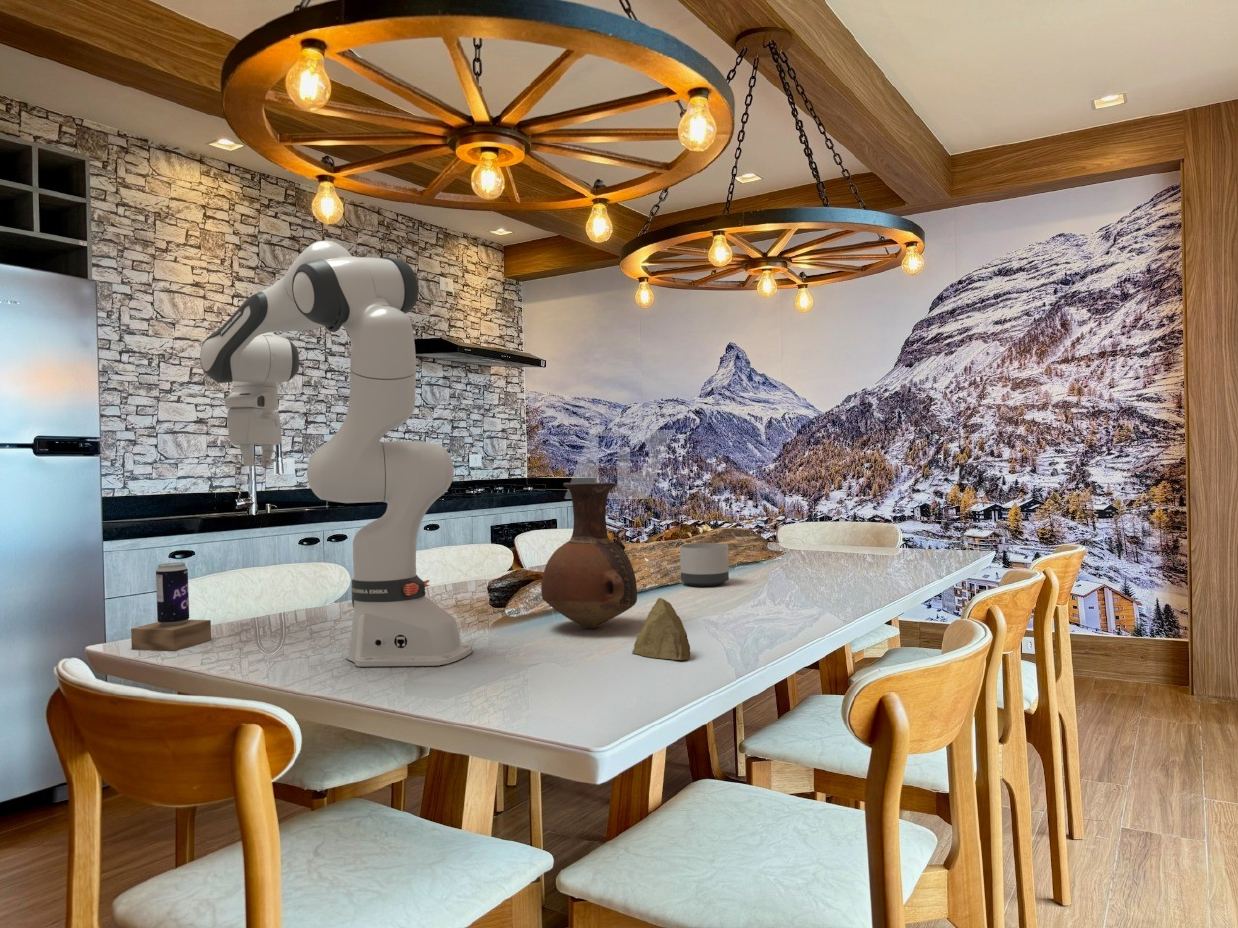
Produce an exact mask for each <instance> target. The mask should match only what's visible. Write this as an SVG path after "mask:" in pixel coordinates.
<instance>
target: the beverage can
mask: <svg viewBox="0 0 1238 928" xmlns="http://www.w3.org/2000/svg"><path fill="white" fill-rule="evenodd" d="M157 566H158V567H157V569H156V571H155V586H156V587H155V588H156V613H157V614H156V615H157V617H156V618H157V619H156V621H157V622H159V623H161V624H162V625H163V626H174V625H180V624H184V623H185V622H186V621H187V620H190V597H189V594H190V593H189V570H188V567H187V565H186V562H178V561H177V562H166V563H160V564H158V565H157Z"/></svg>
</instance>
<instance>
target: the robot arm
mask: <svg viewBox="0 0 1238 928" xmlns="http://www.w3.org/2000/svg"><path fill="white" fill-rule="evenodd" d="M419 291H420V290H419V282H418V277H417V275H416V274H415V271H414V270H413V268H412V267H411V266H410V265H409V263H408V262H407V261H404V260H401V259H398V258H394V257H389V256H383V257H379V258H378V257H370V256H369V257H367V256H366V257H365V256H361V257H360V256H359V257H358V256H354V255H353V256H352V254H351V253H350V252H349V251H348V250H347V249H346V248H345V247H344V246H342V245H341V244H339V243H337V242H335V241H331V240H318V241H315V242H313V243H311V244H310V245H309V246H307V247H306V248H305V249H304V250H303V251H301V253H300V254H299V255H298V256H297V257H296V259H295V260H294V261H293V262H292V264H291V265H289V268H288V270H286V273H285V274H284V275H283V276H282V277H280V279H278V281H276V282H275V283H274V284H272V285H270V286H268V287H266V288H265V289H264V290H261V291H258V292H257V293H254V294H253V295H251V296H249V297H248V298H247V299H246V300H245V301H244V302H243V303H242V304H241V305H240V306H238V308H237V309H236V311H234V313H233V314H232V315H231V316H230V317H229V318H228V319H227V320H226V321H225V323H223V325H222V326H221V327H219V328H218V330H215V331H214V332H212V333H211V334H209V335H208V336H207V337H206V338H205V340H204V341H203V342H202V345H201V348H200V352H199V353H200V354H199V360H200V361H199V362H200V367H201V369H202V371H203V372H204V373H205V375H207V376H208V377H209V378H210V379H212V380H213V381H214V382H215V383H217V384H223V383H224V384H225V383H232V384H233V385H232V391H233V392H231V393H230V395H228V396H226V397H225V398H224V406H225V408H226V409H228V410H227V431H228V438H229V441H230V443H231V444H232V445H239V450H240V453H241V457H242V460H243V461H242V462H243V463H242V464H243V467H254V466H255V465H256V463H255V462H256V460H255V457H254V455H253V450H254V446H255V445H259V446H261V451H262V453H261V454H262V455H261V457H260V465H261V466H262V467H269V466H271V465H272V458H273V457H272V456H273V453H274V446H276V445H278V446H279V445H281V442H282V426H281V418H280V414H279V412H277V411H276V410H278V409H279V397H278V395H279V390H278V388H279V387H278V384H280V383H281V384H282V383H286V382H289V381H291V380H292V379H293V378H294V377H295V376H296V375H297V374H298V372H299V370H300V354H299V350H298V348H297V347H296V345H295V344H294V343H293V341H291V340H290V339H288V338H285V337H282V336H280V335H277V334H275V333H276V332H294V331H295V332H298V331H300V332H301V331H311V330H316V329H318V328H320V327H322V326H323V327H324V328H325V329H326V330H327V331H328V332H331V333H336V332H338V331H339V330H340V329H341V328H342V327H343V328H344V330H345V331H346V332H347V334H348V336H349V340H350V363H349V364H350V365H349V366H350V367H349V368H350V369H349V371H350V376H349V377H350V380H349V381H350V382H349V398H348V406H347V407H348V408H347V412H346V416H345V418H344V420H343V422H342V424H341V425H340V426H339V429H337V431H336V433H334V435H333V436H332V437H331V438H330V439H328V440H327V441H326V442H325V443H323V444H322V445H320V446H319V447H318V448H317V449H316V450H315V451H314V452H313V453H312V454H311V456H310V458H309V460H308V463H307V467H306V477H307V478H306V479H307V483H308V485H309V487H310V489H311V491H312V493H313V494H314V495H315V496H316V497H317V498H319V500H321V501H322V500H323V501H329V502H333V503H343V504H356V503H357V504H358V503H360V504H361V503H376V502H379V503H380V502H383V503H386V504H387V506H386V510H385V512H384V514H383V515H382V516H381V517H378V518H377V519H375V520H373V521H371V522H369V523H367V524H366V525H365V526H363V527H361V528H360V529H359V530H358V531H357V532H356V534H355V535H354V537H353V539H352V560H353V562H352V563H353V578H352V579H351V602H352V607H353V617H352V618H353V619H352V627H351V635H350V636H351V637H350V641H349V647H348V650H347V654H346V659H347V660H348V661H351V662H353V663H354V665H355V666H356V667H424V666H425V667H430V666H433V667H435V666H441V665H443V666H444V665H447V664H451V663H453V662H457V661H460V660H461V659H463V658H465V657H467V656H469V655H470V654H471V653H472V652H473V649H474V648H473V644H472V643H468V642H461V637H460V636H461V635H460V629H459V627H458V626H459V625H458V623H457V620H456V619H455V618H454V616H452V614H450V613H448V612H447V611H446V610H445V609H444V608H442V607H441V606H439V605H438V604H437V603H435V602H434V601H433V600H431V599H430V598H429V597H428V596H426V595H427V593H426V588H427V587H429V586H431V585H430V584H429V582H430V580H429V579H427V580H423V579H422V578H420V576H419V575H417V543H418V541H417V540H418V533H419V529H420V526H421V523H422V520H423V519H424V516H425V515H426V513H427V512H428V510H429V509H430V507H432V505H433V504H434V503H435V501H437V500H438V499H439V498H440V497H442V496H444V494H445V493H446V492H447V491H448V490H449V488H450V487H451V484H452V482H453V478H454V475H455V473H454V471H455V467H454V463H453V460H452V457H451V455H450V453H449V452H448V451H447V449H446V448H445V447H444V446H443V445H442V444H441V445H440V444H436V443H433V442H432V443H431V442H426V441H425V442H424V441H419V440H410V441H409V440H403V441H401V440H400V441H395V440H394V441H381V439H383V437H384V436H385V435H386V434H387V433H389V432H390V431H392V430H394V429H396V428H398V427H400V426H402V425H403V424H405V423H406V422H407V421H408V420H409V419H410V418H411V417H412V415H413V414H414V411H415V409H416V385H417V383H416V379H417V377H416V376H417V369H416V368H417V362H416V360H417V358H416V355H417V354H416V344H415V343H416V342H415V337H414V330H413V325H412V321H411V320H410V319H411V318H409V316H408V315H407V314H408V313H409V312H411V311H412V310H413V309H414V308H415V306H416V304H417V301H418V298H419Z"/></svg>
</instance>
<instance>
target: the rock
mask: <svg viewBox="0 0 1238 928" xmlns="http://www.w3.org/2000/svg"><path fill="white" fill-rule="evenodd" d="M643 622H644V623H643V626H642V627H641V629H640V630H639V632H638V634H637V636H636V639H635V642H634V645H633V649H632V652H631V653H632V655H638V656H641V657H642V656H643V657H645V658H653V659H663V660H672V661H673V660H674V661H688V660H690V659H691V645H690V643H689V638H688V634H687V631H686V630H685V629H686V628H685V627H684V624H683V621H682V618H681V617H680V616H679V615H678V614H677V612H676V610H675V608H674V607H673V605H672V604H671V603H670V602H669V601H667V600H665V599H663V598H661V597H658V598H657V600H656V602H655V603H654V605H652V608H651V610H649V612H648V615H647V616H646V619H645V620H644V621H643Z"/></svg>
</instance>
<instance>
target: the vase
mask: <svg viewBox="0 0 1238 928" xmlns="http://www.w3.org/2000/svg"><path fill="white" fill-rule="evenodd" d="M616 486H617V484H616V483H615V482H590V483H589V482H587V483H586V482H564V483H563V487H564V488H566V489H568V490H569V493H570V495H571V501H572V511H573V512H572V514H573V527H572V528H573V529H572V534H571V537H570V539H569V540H568V541H567V542H565V543H564V544H562V545H561V546H559V547H558V548H557V549H555V551H554V552H553V554H552V555H551V556H550V558H549V559H548V560H547V562H546V565H545V568H544V571H543V575H542V580H541V585H540V586H541V588H540V592H541V598H542V600H543V602H545V603H546V604H547V605H548V606H550V607H551V608H552V609H554V611H555V610H556V612H558V613H559V614H561V615H562V616H564V617H565V618H567V619H568V620H570V621H572V622H573V623H574V624H577V625H578V626H579V627H581V628H584V629H589V630H590V629H591V630H592V629H597V628H599V627H601V626H602V625H604V624H605V623H607V622H608V621H611V620H613V619H614V618H616V617H618V616H620V615H622V614H623V613H625V612H626V611H628V610H630V609H631V608H632V607H634V606H635V605H636V604H637V601H638V588H637V579H636V575H635V571H634V569H633V565H632V562H631V560H630V557H629V556H628V555H627V553H626V551H625V549H626V546H625V545H624V543H623V542H622V540H620V539H618V538H617V539H615V541H612V540H611V538H609V536H608V531H607V516H606V510H607V502H608V501H607V500H608V496H609V493H610V491H611V490H612V489H613V488H615V487H616Z"/></svg>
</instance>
